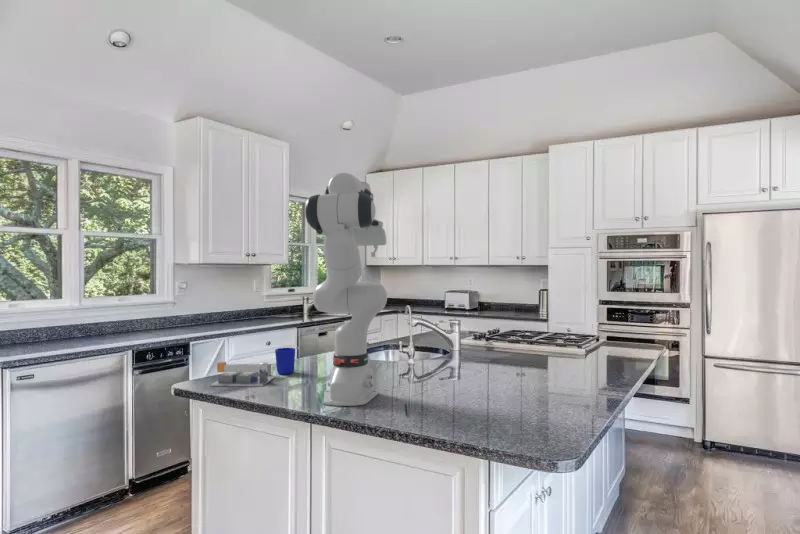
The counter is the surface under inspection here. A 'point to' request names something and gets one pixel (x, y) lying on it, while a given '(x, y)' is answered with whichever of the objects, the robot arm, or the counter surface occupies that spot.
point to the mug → (285, 360)
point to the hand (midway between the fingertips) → (361, 256)
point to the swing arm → (242, 367)
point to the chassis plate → (255, 383)
